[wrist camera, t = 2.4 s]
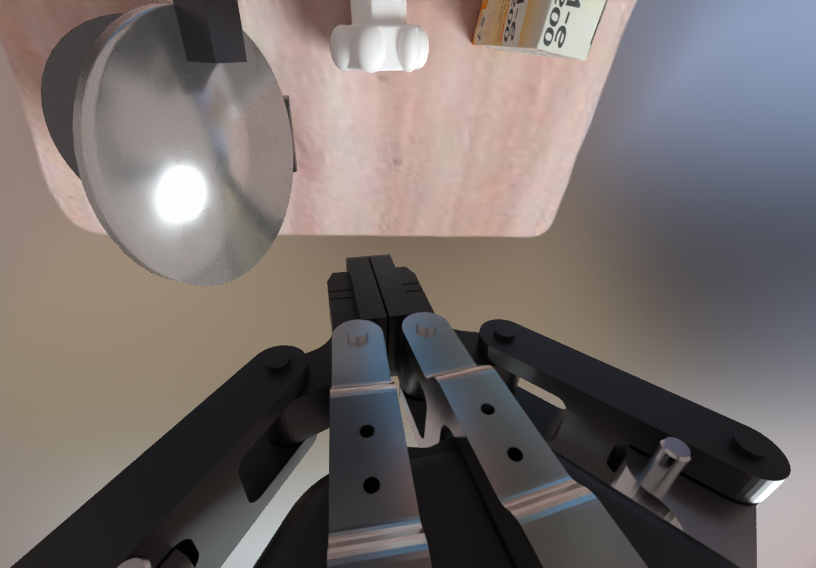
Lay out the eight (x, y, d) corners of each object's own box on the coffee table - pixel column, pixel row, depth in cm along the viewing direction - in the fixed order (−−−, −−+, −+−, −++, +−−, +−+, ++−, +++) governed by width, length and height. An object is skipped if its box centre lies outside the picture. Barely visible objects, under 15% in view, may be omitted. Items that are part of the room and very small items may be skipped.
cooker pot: (75, 8, 30) (-21, -5, 21) (283, 20, 33) (278, 14, 24) (139, 190, 38) (89, 238, 29) (302, 185, 41) (303, 225, 32)
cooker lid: (-138, -324, 9) (-53, -343, 8) (250, -107, 21) (294, -109, 21) (145, 332, 20) (190, 343, 19) (293, 224, 32) (323, 228, 32)
